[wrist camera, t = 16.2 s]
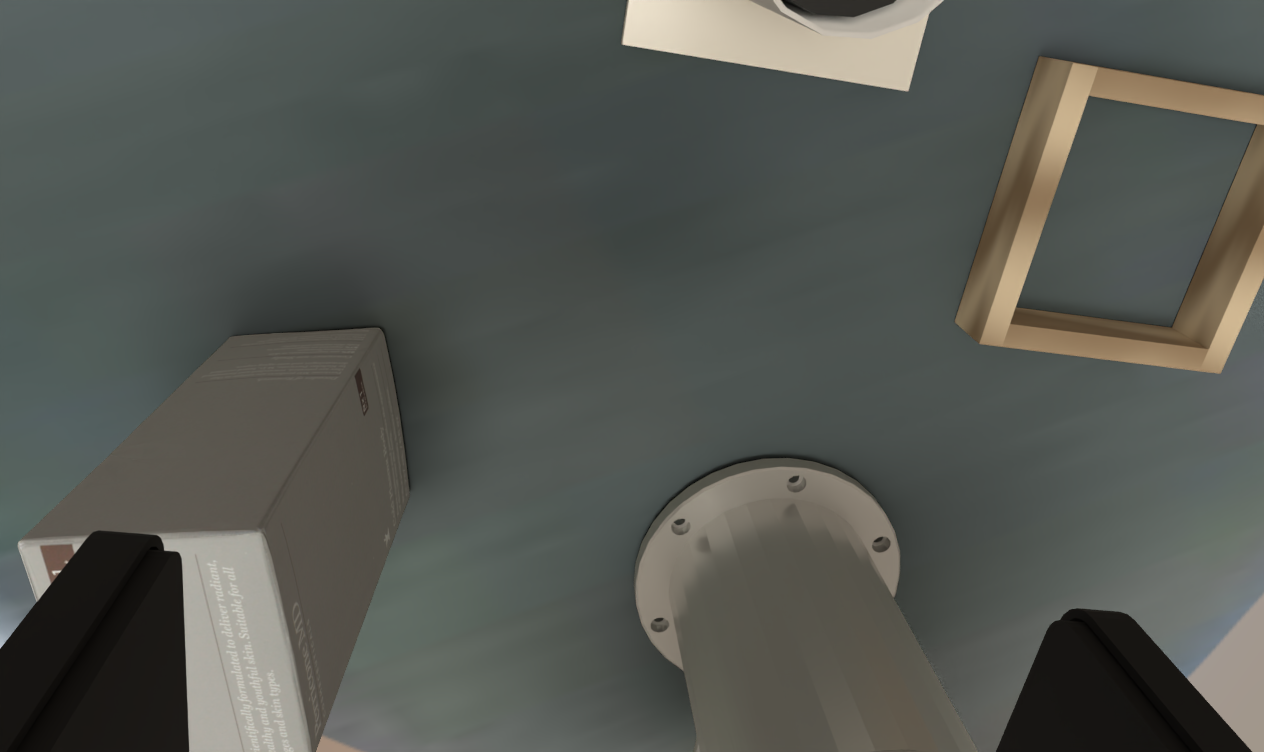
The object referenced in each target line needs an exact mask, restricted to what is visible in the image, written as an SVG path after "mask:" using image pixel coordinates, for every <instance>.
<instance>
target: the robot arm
mask: <svg viewBox="0 0 1264 752" xmlns="http://www.w3.org/2000/svg"><path fill="white" fill-rule="evenodd" d="M793 476H794V477H793ZM792 477H793V478H792ZM677 519H679V520H677ZM899 577H900V550H899V545H898V541H897V537H896V533H895V531H894V529H893V527H892V525H891V523H890V521H889V519H888V517H887V515H886V514H885V512H884V511H883V509H882V508H881V506H880V505H879V503H878V502H877V501H876V499H875V498H874V496H873V495H872V494H871V493H870V492H868V491H867V490H866V489H865V488H864V487H863V486H862V485H861V484H860V483H859V482H858V481H856V480H854V479H853V478H851V477H849V476H848V475H846V474H844V473H842V472H841V471H839V470H837V469H834V468H831V467H829V466H826V465H823V464H820V463H817V462H813V461H806V460H800V459H793V458H771V459H759V460H754V461H749V462H744V463H739V464H735V465H733V466H730V467H727V468H725V469H722V470H719V471H717V472H714V473H711V474H710V475H708V476H706V477H704V478H703V479H701V480H699V481H697V482H696V483H694V484H692V485H690V486H689V487H688V488H686V489H685V490H684V491H683V492H682V493H680V494H679V495H678V496H677V497H676V498H674V499H673V500H672V501H671V502H669V504H668V505H667V506H666V507H665V508H664V509H663V511H662V512H661V513H660V514H659V515H658V517H657V518H656V519H655V520H654V521H653V523H652V525H651V527H650V528H649V530H648V532H647V534H646V536H645V537H644V539H643V541H642V544H641V547H640V550H639V553H638V556H637V560H636V563H635V575H634V589H635V598H636V606H637V609H638V613H639V617H640V620H641V624H642V626H643V628H644V630H645V632H646V633H647V635H648V637H649V639H650V641H651V642H652V644H653V645H654V646H655V647H656V648H657V649H658V650H659V651H660V653H661V654H662V655H663V656H664V657H665V658H666V659H667V660H669V661H670V662H672V663H673V664H674V665H676V666H677V667H678V668H680V669H681V670H683V671H684V674H685V679H686V684H687V689H688V694H689V699H690V704H691V709H692V714H693V719H694V724H695V729H696V734H697V738H696V742H695V746H694V750H693V752H978V751H977V749H976V747H975V745H974V743H973V742H972V740H971V738H970V736H969V734H968V732H967V731H966V729H965V727H964V725H963V723H962V722H961V720H960V718H959V716H958V714H957V712H956V711H955V709H954V707H953V705H952V703H951V702H950V700H949V698H948V696H947V694H946V692H945V691H944V689H943V687H942V685H941V683H940V682H939V680H938V678H937V676H936V674H935V672H934V671H933V669H932V667H931V665H930V663H929V662H928V660H927V658H926V656H925V654H924V652H923V651H922V649H921V647H920V645H919V643H918V642H917V640H916V638H915V636H914V634H913V632H912V631H911V629H910V627H909V625H908V623H907V622H906V620H905V618H904V616H903V614H902V612H901V611H900V609H899V607H898V605H897V603H896V602H895V600H894V597H895V595H896V591H897V586H898V581H899ZM0 752H189V728H188V702H187V676H186V649H185V623H184V596H183V570H182V558H181V556H180V553H178V552H176V551H164V544H163V542H162V539H161V537H159V536H158V535H152V534H139V533H127V532H114V531H101V530H98V531H95V532H93V533H92V534H90V535H89V536H88V537H87V538H86V540H85V541H84V542H83V544H82V545H81V546H80V547H79V549H78V550H77V551H76V553H75V554H74V555H73V556H72V558H71V559H70V560H69V562H68V563H67V564H66V565H65V567H64V568H63V569H62V570H61V572H60V573H59V574H58V576H57V577H56V578H55V579H54V581H53V582H52V583H51V585H50V586H49V587H48V588H47V590H46V591H45V592H44V594H43V595H42V596H41V597H40V599H39V600H38V601H37V603H36V604H35V605H34V606H33V608H32V609H31V610H30V612H29V613H28V614H27V615H26V617H25V618H24V619H23V620H22V622H21V623H20V624H19V626H18V627H17V628H16V629H15V631H14V632H13V633H12V635H11V636H10V637H9V638H8V640H7V641H6V642H5V644H4V645H3V646H2V647H1V649H0ZM996 752H1252V751H1251V750H1250V749H1249V748H1248V747H1247V746H1246V744H1245V743H1244V742H1243V741H1242V740H1241V739H1240V738H1239V737H1238V736H1237V734H1236V733H1235V732H1234V731H1233V730H1232V729H1231V728H1230V727H1229V725H1228V724H1227V723H1226V722H1225V721H1224V720H1223V719H1222V718H1221V717H1220V715H1219V714H1218V713H1217V712H1216V711H1215V710H1214V709H1213V707H1212V706H1211V705H1210V704H1209V703H1208V702H1207V701H1206V700H1205V699H1204V697H1203V696H1202V695H1201V694H1200V693H1199V692H1198V691H1197V690H1196V689H1195V688H1194V686H1193V685H1192V684H1191V683H1190V682H1189V681H1188V679H1187V678H1186V677H1185V676H1184V675H1183V674H1182V673H1181V672H1180V671H1179V669H1178V668H1177V667H1176V666H1175V665H1174V664H1173V663H1172V662H1171V660H1170V659H1169V658H1168V657H1167V656H1166V655H1165V654H1164V653H1163V652H1162V650H1161V649H1160V648H1159V647H1158V646H1157V645H1156V644H1155V643H1154V641H1153V640H1152V639H1151V638H1150V637H1149V636H1148V635H1147V634H1146V633H1145V631H1144V630H1143V629H1142V628H1141V627H1140V626H1139V625H1138V624H1137V622H1136V621H1135V620H1134V619H1132V618H1131V617H1130V616H1129V615H1127V614H1125V613H1121V612H1115V611H1103V610H1090V609H1071V610H1069V611H1068V612H1066V613H1065V614H1064V615H1063V616H1062V618H1061V620H1058V621H1055V622H1053V623H1052V624H1051V625H1050V626H1049V628H1048V630H1047V632H1046V634H1045V636H1044V639H1043V641H1042V644H1041V646H1040V648H1039V651H1038V653H1037V655H1036V658H1035V660H1034V663H1033V665H1032V667H1031V670H1030V672H1029V674H1028V677H1027V679H1026V682H1025V684H1024V686H1023V689H1022V691H1021V693H1020V696H1019V698H1018V701H1017V703H1016V705H1015V708H1014V710H1013V712H1012V715H1011V717H1010V720H1009V722H1008V724H1007V727H1006V729H1005V731H1004V734H1003V736H1002V739H1001V741H1000V743H999V746H998V748H997V750H996Z"/></svg>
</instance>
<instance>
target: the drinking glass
mask: <svg viewBox="0 0 1264 752" xmlns="http://www.w3.org/2000/svg"><path fill="white" fill-rule="evenodd" d="M749 1H751V2H754V3H756V4H758V5H760V6H762V7H764V8H766V9H768V10H771V11H773V12H775V13H777V14H779V15H781V16H783V17H785V18H787V19H790V20H792V21H794V22H796V23H798V24H800V25H802V26H804V27H806V28H809V29H811V30H813V31H815V32H817V33H819V34H821V35H823V36H837V37H850V38H864V39H872V38H875V37H878V36H881V35H884V34H887V33H889V32H892V31H895V30H898V29H901V28H904V27H906V26H909V25H912V24H915V23H918V22H919V21H920V20H921V19H923V18H924V17H925V16H926V15H927V14H928V13H930V12H931V11H932V10H933V9H934V8H935V7H937V6H938V5H939V4H940V3H941V2H942V1H944V0H749Z"/></svg>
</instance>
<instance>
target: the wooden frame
mask: <svg viewBox="0 0 1264 752" xmlns="http://www.w3.org/2000/svg"><path fill="white" fill-rule="evenodd" d="M1088 96H1094V97H1100V98H1105V99H1111V100H1117V101H1123V102H1129V103H1135V104H1141V105H1147V106H1153V107H1159V108H1165V109H1171V110H1177V111H1183V112H1188V113H1194V114H1200V115H1206V116H1212V117H1218V118H1224V119H1230V120H1236V121H1242V122H1248V123H1254V124H1257V126H1256V128H1255V131H1254V133H1253V136H1252V138H1251V140H1250V143H1249V145H1248V148H1247V150H1246V152H1245V155H1244V157H1243V159H1242V162H1241V164H1240V167H1239V169H1238V171H1237V174H1236V176H1235V179H1234V181H1233V183H1232V186H1231V188H1230V190H1229V193H1228V195H1227V198H1226V200H1225V202H1224V205H1223V207H1222V210H1221V212H1220V214H1219V217H1218V219H1217V221H1216V224H1215V226H1214V229H1213V231H1212V233H1211V236H1210V238H1209V240H1208V243H1207V245H1206V248H1205V250H1204V252H1203V255H1202V257H1201V260H1200V262H1199V264H1198V267H1197V269H1196V271H1195V274H1194V276H1193V279H1192V281H1191V283H1190V286H1189V288H1188V291H1187V293H1186V295H1185V298H1184V300H1183V302H1182V305H1181V307H1180V310H1179V312H1178V314H1177V317H1176V319H1175V322H1174V324H1173V326H1172V328H1171V327H1163V326H1155V325H1148V324H1140V323H1132V322H1125V321H1117V320H1109V319H1102V318H1094V317H1086V316H1079V315H1071V314H1063V313H1056V312H1048V311H1040V310H1033V309H1025V308H1018V307H1016V305H1017V302H1018V299H1019V296H1020V293H1021V290H1022V287H1023V285H1024V282H1025V279H1026V276H1027V273H1028V270H1029V267H1030V264H1031V261H1032V258H1033V256H1034V253H1035V250H1036V247H1037V244H1038V241H1039V238H1040V235H1041V232H1042V229H1043V227H1044V224H1045V221H1046V218H1047V215H1048V212H1049V209H1050V206H1051V203H1052V200H1053V198H1054V195H1055V192H1056V189H1057V186H1058V183H1059V180H1060V177H1061V174H1062V171H1063V169H1064V166H1065V163H1066V160H1067V157H1068V154H1069V151H1070V148H1071V145H1072V142H1073V140H1074V137H1075V134H1076V131H1077V128H1078V125H1079V122H1080V119H1081V116H1082V113H1083V111H1084V108H1085V105H1086V102H1087V99H1088ZM1263 278H1264V95H1260V94H1254V93H1248V92H1243V91H1237V90H1231V89H1225V88H1220V87H1214V86H1208V85H1202V84H1197V83H1191V82H1185V81H1179V80H1174V79H1168V78H1162V77H1156V76H1151V75H1145V74H1139V73H1133V72H1128V71H1122V70H1116V69H1110V68H1105V67H1099V66H1093V65H1087V64H1082V63H1076V62H1070V61H1064V60H1059V59H1053V58H1047V57H1041V56H1039V58H1038V62H1037V65H1036V68H1035V71H1034V74H1033V77H1032V80H1031V84H1030V87H1029V90H1028V93H1027V96H1026V99H1025V102H1024V105H1023V109H1022V112H1021V115H1020V118H1019V121H1018V124H1017V127H1016V131H1015V134H1014V137H1013V140H1012V143H1011V146H1010V149H1009V152H1008V156H1007V159H1006V162H1005V165H1004V168H1003V171H1002V174H1001V178H1000V181H999V184H998V187H997V190H996V193H995V196H994V199H993V203H992V206H991V209H990V212H989V215H988V218H987V221H986V225H985V228H984V231H983V234H982V237H981V240H980V243H979V246H978V250H977V253H976V256H975V259H974V262H973V265H972V268H971V272H970V275H969V278H968V281H967V284H966V287H965V290H964V293H963V297H962V300H961V303H960V306H959V309H958V312H957V315H956V319H955V323H956V324H957V325H958V326H960V327H961V328H962V329H963V330H964V331H965V332H966V333H967V334H969V335H970V336H971V337H972V338H973V339H974V340H975V341H977V342H978V343H979V344H984V345H992V346H1000V347H1008V348H1016V349H1024V350H1032V351H1041V352H1049V353H1057V354H1065V355H1073V356H1081V357H1089V358H1097V359H1105V360H1113V361H1122V362H1130V363H1138V364H1146V365H1154V366H1162V367H1170V368H1178V369H1186V370H1194V371H1203V372H1211V373H1219V374H1220V373H1221V371H1222V369H1223V367H1224V365H1225V362H1226V360H1227V358H1228V356H1229V353H1230V351H1231V349H1232V347H1233V345H1234V342H1235V340H1236V338H1237V336H1238V334H1239V331H1240V329H1241V327H1242V325H1243V322H1244V320H1245V318H1246V316H1247V314H1248V311H1249V309H1250V307H1251V305H1252V303H1253V300H1254V298H1255V296H1256V294H1257V291H1258V289H1259V287H1260V285H1261V283H1262V280H1263Z"/></svg>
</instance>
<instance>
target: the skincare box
mask: <svg viewBox="0 0 1264 752" xmlns="http://www.w3.org/2000/svg"><path fill="white" fill-rule="evenodd" d="M409 491H410V490H409V484H408V474H407V465H406V457H405V449H404V442H403V435H402V428H401V421H400V414H399V408H398V402H397V396H396V390H395V385H394V379H393V374H392V369H391V364H390V359H389V355H388V350H387V345H386V341H385V337H384V333H383V332H382V330H381V329H380V328H363V329H348V330H332V331H315V332H297V333H273V334H258V335H242V336H232V337H229V338H228V340H227V341H226V342H225V343H224V344H223V345H222V346H221V347H220V348H219V349H218V350H217V351H216V352H214V353H213V354H212V355H211V356H210V357H209V358H208V359H207V360H206V361H205V362H204V363H203V364H202V365H201V366H200V367H199V368H198V369H197V370H196V371H195V372H194V373H193V374H192V375H191V376H190V377H189V378H188V379H187V380H186V381H185V382H183V383H182V384H181V385H180V386H179V387H178V388H177V389H176V390H175V391H174V392H173V393H172V394H171V395H170V396H169V397H168V398H167V399H166V400H165V401H164V402H163V403H162V404H161V405H160V406H159V407H158V408H157V409H156V410H155V411H154V412H153V413H152V414H151V415H150V416H149V417H148V418H147V419H146V420H145V421H143V422H142V423H141V424H140V425H139V426H138V427H137V428H136V429H135V430H134V431H133V432H132V433H131V434H130V435H129V436H128V438H127V439H126V440H124V441H123V442H122V443H121V444H120V445H119V446H118V447H117V448H116V449H115V450H114V451H113V452H112V453H111V454H110V455H109V456H108V457H107V458H106V459H105V460H104V461H103V462H102V463H101V464H100V465H99V466H97V467H96V468H95V469H94V470H93V471H92V472H91V473H90V474H89V475H88V476H87V477H86V478H85V479H84V480H83V481H82V482H81V483H80V484H79V485H78V486H76V487H75V488H74V489H73V490H72V491H71V492H70V493H69V494H68V495H67V496H66V497H65V498H64V499H63V500H62V501H61V502H60V503H59V504H58V505H57V506H56V507H55V508H54V509H53V510H52V511H50V512H49V513H48V514H47V515H46V516H45V517H44V518H43V519H42V520H41V521H40V522H39V523H38V524H37V525H36V526H35V527H34V528H33V529H32V530H31V531H29V532H28V533H27V534H26V535H25V536H24V537H23V538H22V539H21V540H20V541H19V543H18V549H19V551H20V554H21V557H22V560H23V563H24V566H25V569H26V571H27V574H28V577H29V580H30V583H31V586H32V589H33V592H34V595H35V598H36V601H38V600H39V599H40V597H41V596H42V595H43V594H44V592H45V591H46V590H47V588H48V587H49V586H50V585H51V583H52V582H53V581H54V579H55V578H56V577H57V576H58V574H59V573H60V572H61V570H62V569H63V568H64V567H65V565H66V564H67V563H68V562H69V560H70V559H71V558H72V556H73V555H74V554H75V553H76V551H77V550H78V549H79V547H80V546H81V545H82V544H83V542H84V541H85V540H86V538H87V537H88V536H89V535H90V534H92V533H93V532H95V531H98V530H101V531H114V532H127V533H139V534H152V535H158V536H159V537H161V539H162V542H163V544H164V551H176V552H178V553H180V556H181V558H182V570H183V596H184V623H185V649H186V676H187V702H188V728H189V752H316V750H317V747H318V744H319V741H320V739H321V736H322V733H323V730H324V728H325V725H326V722H327V719H328V717H329V714H330V711H331V709H332V706H333V703H334V700H335V698H336V695H337V692H338V689H339V686H340V684H341V681H342V678H343V675H344V673H345V670H346V667H347V665H348V662H349V659H350V657H351V654H352V651H353V648H354V646H355V643H356V640H357V638H358V635H359V632H360V629H361V627H362V624H363V621H364V618H365V616H366V613H367V610H368V608H369V605H370V602H371V600H372V597H373V594H374V591H375V588H376V586H377V583H378V580H379V578H380V575H381V572H382V570H383V567H384V564H385V561H386V558H387V556H388V553H389V550H390V548H391V545H392V542H393V540H394V537H395V534H396V531H397V529H398V526H399V523H400V521H401V518H402V515H403V512H404V510H405V508H406V505H407V503H408V500H409V496H410V493H409Z"/></svg>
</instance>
